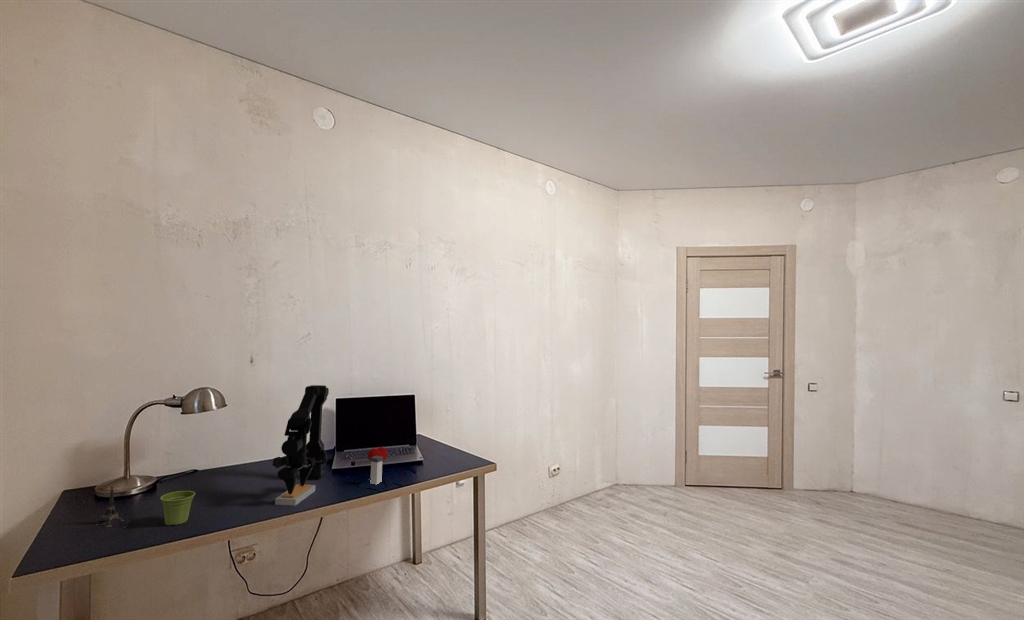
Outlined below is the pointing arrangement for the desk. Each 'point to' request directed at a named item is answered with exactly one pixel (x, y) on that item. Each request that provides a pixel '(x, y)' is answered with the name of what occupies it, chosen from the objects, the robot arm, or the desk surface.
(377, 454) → the red heart figurine
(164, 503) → the plant pot
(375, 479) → the white tall block
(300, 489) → the button
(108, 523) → the eiffel tower figurine
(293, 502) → the button housing
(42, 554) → the desk surface
